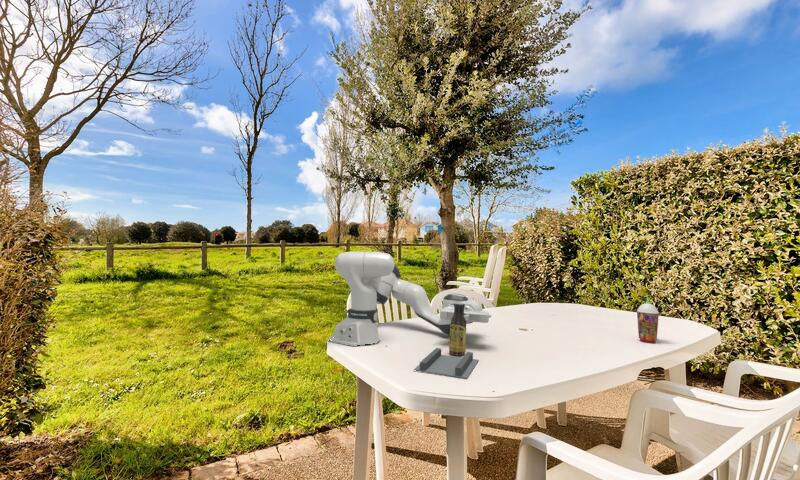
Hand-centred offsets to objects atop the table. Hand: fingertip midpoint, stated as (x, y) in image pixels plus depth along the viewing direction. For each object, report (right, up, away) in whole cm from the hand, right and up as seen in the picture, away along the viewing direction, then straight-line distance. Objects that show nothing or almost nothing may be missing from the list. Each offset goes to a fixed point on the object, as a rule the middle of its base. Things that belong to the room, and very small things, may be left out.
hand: (460, 318), depth 146 cm
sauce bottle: (-2, -13, -4) cm, 14 cm away
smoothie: (+88, -15, +19) cm, 91 cm away
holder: (-7, -13, -18) cm, 23 cm away
